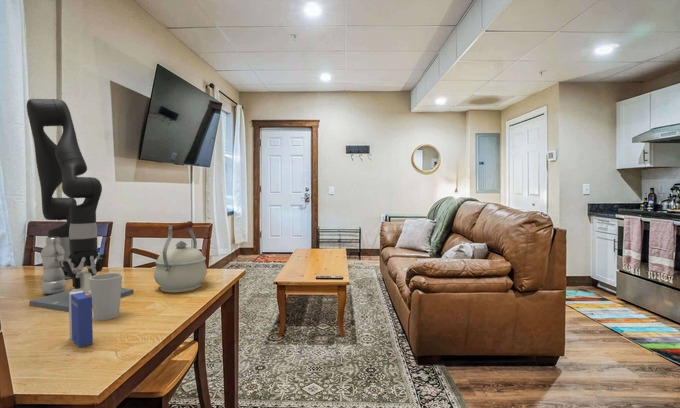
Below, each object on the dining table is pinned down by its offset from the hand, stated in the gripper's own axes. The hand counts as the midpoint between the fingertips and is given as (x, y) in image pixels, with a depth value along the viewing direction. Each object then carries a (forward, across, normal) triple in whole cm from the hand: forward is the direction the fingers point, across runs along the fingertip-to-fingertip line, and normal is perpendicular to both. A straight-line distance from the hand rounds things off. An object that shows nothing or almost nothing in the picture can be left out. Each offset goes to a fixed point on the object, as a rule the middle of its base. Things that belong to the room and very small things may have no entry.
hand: (84, 286), depth 113 cm
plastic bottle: (+5, 0, -16) cm, 17 cm away
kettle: (+5, -25, +18) cm, 31 cm away
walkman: (+5, +20, +32) cm, 38 cm away
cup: (+5, +7, +22) cm, 23 cm away
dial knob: (+3, 0, +2) cm, 3 cm away
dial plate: (+4, 0, 0) cm, 4 cm away
